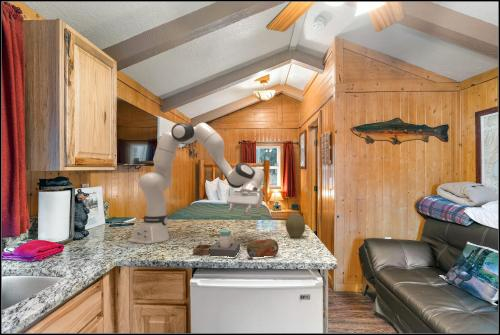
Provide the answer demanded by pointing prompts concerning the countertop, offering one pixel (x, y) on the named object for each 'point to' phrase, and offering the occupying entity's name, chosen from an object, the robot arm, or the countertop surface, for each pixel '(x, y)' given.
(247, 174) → the robot arm
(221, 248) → the port
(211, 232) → the countertop surface
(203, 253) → the brown shallow square box
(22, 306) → the countertop surface
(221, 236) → the blue capped bottle
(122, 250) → the countertop surface
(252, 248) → the tin
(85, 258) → the countertop surface
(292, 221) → the olive brown vase
